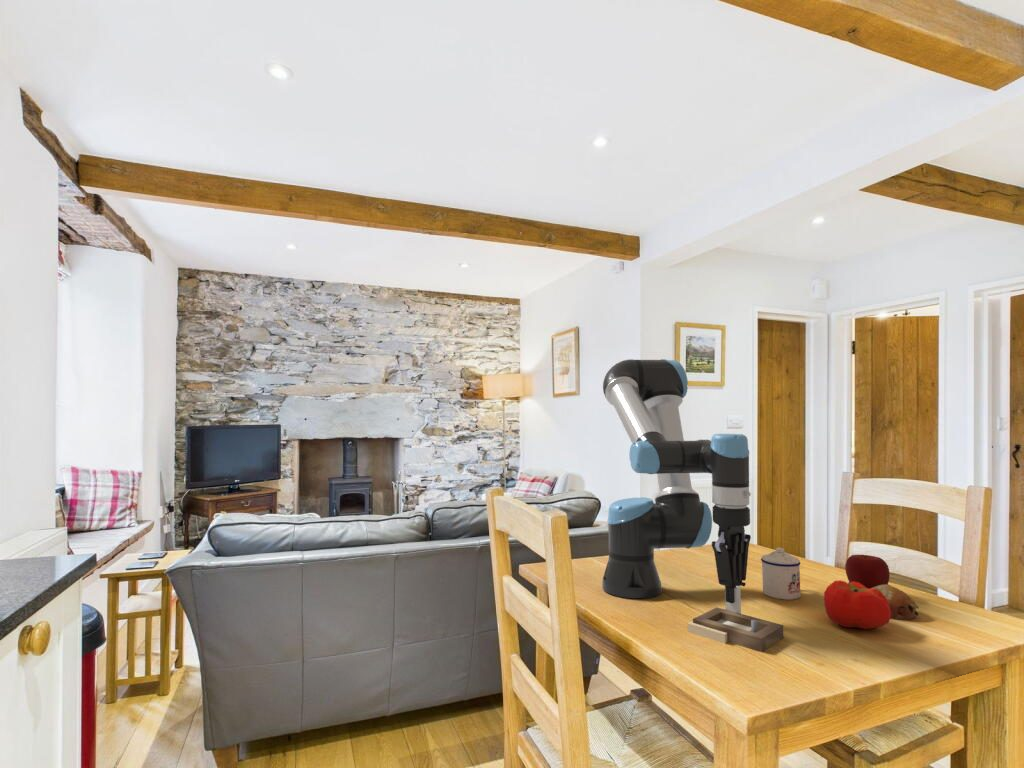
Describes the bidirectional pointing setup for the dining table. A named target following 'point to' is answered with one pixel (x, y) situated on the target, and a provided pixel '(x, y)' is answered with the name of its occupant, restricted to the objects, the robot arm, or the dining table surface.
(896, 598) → the bread roll
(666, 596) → the dining table surface
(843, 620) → the tomato
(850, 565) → the apple
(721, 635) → the wall panel
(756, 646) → the walnut frame
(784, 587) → the teacup with lid
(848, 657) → the dining table surface
